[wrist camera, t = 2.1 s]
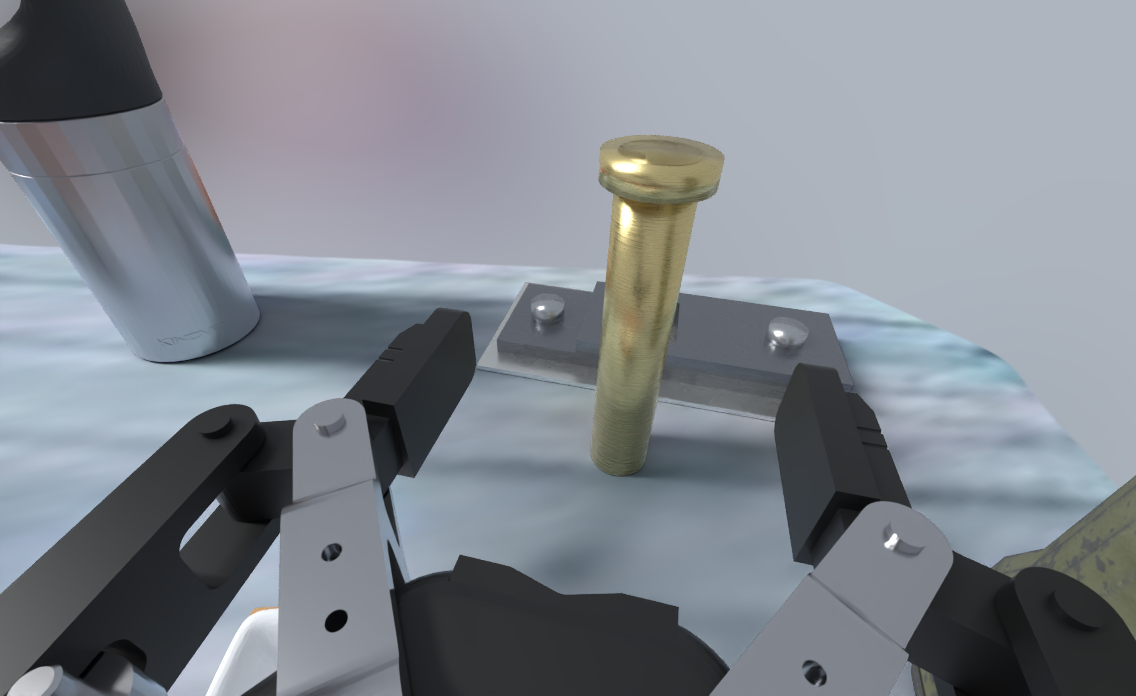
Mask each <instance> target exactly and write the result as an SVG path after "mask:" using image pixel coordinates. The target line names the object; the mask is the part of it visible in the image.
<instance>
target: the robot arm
mask: <svg viewBox="0 0 1136 696" xmlns="http://www.w3.org/2000/svg"><path fill="white" fill-rule="evenodd" d="M0 161H1V162H2V164H3V165H4V167H5V168H6V169H7V170H8V172H9V173H10V175H11V176H12V177H13V179H14V180H15V182H16V183H17V185H18V186H19V188H20V189H21V190H22V192H23V193H24V195H25V196H26V198H27V199H28V201H29V202H30V204H31V205H32V206H33V208H34V209H35V211H36V212H37V214H38V215H39V217H40V218H41V219H42V221H43V222H44V224H45V225H46V227H47V228H48V230H49V231H50V232H51V234H52V235H53V237H54V238H55V240H56V241H57V242H58V244H59V245H60V247H61V248H62V250H63V251H64V253H65V254H66V256H67V257H68V258H69V260H70V261H71V263H72V264H73V266H74V267H75V269H76V270H77V271H78V273H79V274H80V276H81V277H82V279H83V280H84V282H85V283H86V284H87V286H88V287H89V289H90V290H91V292H92V293H93V295H94V296H95V297H96V299H97V300H98V302H99V303H100V305H101V306H102V308H103V309H104V311H105V312H106V314H107V315H108V317H109V318H110V319H111V321H112V322H113V324H114V325H115V327H116V328H117V330H118V331H119V332H120V334H121V335H122V337H123V338H124V340H125V341H126V342H127V344H128V345H129V347H130V348H131V350H132V351H133V353H134V354H136V355H137V356H139V357H140V358H143V359H146V360H149V361H157V362H175V361H182V360H189V359H193V358H197V357H201V356H205V355H208V354H210V353H213V352H216V351H219V350H221V349H223V348H225V347H227V346H230V345H232V344H233V343H235V342H237V341H238V340H240V339H242V338H243V337H244V336H245V335H247V334H248V333H249V332H250V331H251V330H252V329H253V328H254V327H255V326H256V324H257V322H258V320H259V319H260V311H259V308H258V306H257V304H256V302H255V299H254V297H253V295H252V292H251V290H250V288H249V286H248V283H247V281H246V279H245V277H244V274H243V272H242V269H241V267H240V265H239V263H238V261H237V258H236V256H235V254H234V252H233V250H232V248H231V245H230V243H229V241H228V238H227V236H226V234H225V232H224V229H223V227H222V225H221V223H220V221H219V218H218V216H217V214H216V212H215V209H214V207H213V205H212V203H211V200H210V198H209V196H208V194H207V192H206V189H205V187H204V185H203V183H202V180H201V178H200V176H199V174H198V172H197V169H196V167H195V165H194V163H193V160H192V158H191V156H190V154H189V151H188V149H187V147H186V145H185V143H184V141H183V139H182V136H181V134H180V132H179V130H178V128H177V126H176V123H175V121H174V119H173V116H172V114H171V112H170V110H169V108H168V105H167V103H166V101H165V99H164V97H163V96H162V92H161V90H160V87H159V85H158V83H157V81H156V79H155V76H154V74H153V72H152V69H151V67H150V64H149V61H148V58H147V55H146V53H145V50H144V47H143V44H142V42H141V39H140V36H139V34H138V31H137V28H136V26H135V23H134V21H133V19H132V17H131V14H130V12H129V10H128V7H127V5H126V3H125V1H124V0H21V4H20V7H19V9H18V11H17V12H16V13H15V15H14V16H13V17H12V18H11V20H10V21H9V22H7V23H6V24H5V25H4V26H3V27H2V28H0ZM475 366H476V357H475V348H474V340H473V332H472V324H471V318H470V315H469V313H468V312H465V311H459V310H452V309H445V308H438V309H436V310H435V311H434V313H433V314H432V315H431V316H430V317H429V319H428V320H427V321H426V322H425V323H424V325H423V324H415V325H414V326H412V327H410V328H409V329H407V330H405V331H403V332H402V333H400V334H399V335H398V336H397V337H396V338H395V340H394V341H393V342H392V343H391V344H390V345H389V346H388V350H387V349H386V350H385V351H384V352H383V353H382V354H381V356H380V357H379V360H376V361H375V362H374V364H373V365H372V366H371V367H370V368H369V369H368V370H367V372H366V373H365V374H364V375H363V376H362V377H361V378H360V380H359V381H358V382H357V383H356V384H355V385H354V386H353V388H352V389H351V390H350V391H349V392H348V393H347V394H346V396H345V397H344V398H338V399H331V400H327V401H323V402H321V403H318V404H316V405H314V406H312V407H310V408H309V409H308V410H306V411H305V412H304V413H303V414H301V416H300V417H299V418H298V419H297V420H287V421H273V422H260V421H259V419H258V417H257V416H256V414H255V412H254V411H253V409H251V408H250V407H248V406H245V405H240V404H230V405H223V406H219V407H216V408H213V409H210V410H208V411H205V412H203V413H201V414H200V415H198V416H196V417H195V418H193V419H192V420H190V421H189V422H188V423H187V424H186V425H185V426H184V427H182V428H181V429H180V430H179V431H178V432H177V433H176V434H175V435H174V436H173V437H172V438H170V439H169V440H168V441H167V442H166V443H165V444H164V445H163V446H162V447H161V448H160V449H158V450H157V451H156V452H155V453H154V454H153V455H152V456H151V457H150V458H149V459H148V460H146V461H145V462H144V463H143V464H142V465H141V466H140V467H139V468H138V469H137V470H136V471H134V472H133V473H132V474H131V475H130V476H129V477H128V478H127V479H126V480H125V481H124V482H122V483H121V484H120V485H119V486H118V487H117V488H116V489H115V490H114V491H113V492H112V493H110V494H109V495H108V496H107V497H106V498H105V499H104V500H103V501H102V502H101V503H100V504H98V505H97V506H96V507H95V508H94V509H93V510H92V511H91V512H90V513H89V514H88V515H86V516H85V517H84V518H83V519H82V520H81V521H80V522H79V523H78V524H77V525H76V526H74V527H73V528H72V529H71V530H70V531H69V532H68V533H67V534H66V535H65V536H64V537H62V538H61V539H60V540H59V541H58V542H57V543H56V544H55V545H54V546H53V547H52V548H50V549H49V550H48V551H47V552H46V553H45V554H44V555H43V556H42V557H41V558H40V559H38V560H37V561H36V562H35V563H34V564H33V565H32V566H31V567H30V568H29V569H28V570H26V571H25V572H24V573H23V574H22V575H21V576H20V577H19V578H18V579H17V580H16V581H14V582H13V583H12V584H11V585H10V586H9V587H8V588H7V589H6V590H5V591H4V592H2V593H1V594H0V696H168V695H167V692H168V691H169V689H170V688H171V686H172V685H173V684H174V682H175V681H176V679H177V678H178V676H179V675H180V674H181V672H182V671H183V669H184V668H185V667H186V665H187V664H188V662H189V661H190V659H191V658H192V657H193V655H194V654H195V652H196V651H197V650H198V648H199V647H200V645H201V644H202V642H203V641H204V640H205V638H206V637H207V635H208V634H209V632H210V631H211V630H212V628H213V627H214V625H215V624H216V623H217V621H218V620H219V618H220V617H221V615H222V614H223V613H224V611H225V610H226V608H227V607H228V606H229V604H230V603H231V601H232V600H233V598H234V597H235V596H236V594H237V593H238V591H239V590H240V589H241V587H242V586H243V584H244V583H245V581H246V580H247V579H248V577H249V576H250V574H251V573H252V572H253V570H254V569H255V567H256V566H257V564H258V563H259V562H260V560H261V559H262V557H263V556H264V555H265V553H266V552H267V550H268V549H269V547H270V546H271V545H272V543H273V542H274V540H275V539H276V537H277V536H278V535H279V533H280V566H279V609H278V652H277V670H276V671H275V672H274V673H272V674H271V675H269V676H268V677H266V678H265V679H263V680H262V681H261V682H259V683H258V684H256V685H255V686H253V687H252V688H251V689H249V690H248V691H246V692H245V693H243V694H242V695H240V696H888V695H889V693H890V691H891V690H892V688H893V686H894V684H895V682H896V681H897V679H898V677H899V675H900V673H901V672H902V670H903V668H904V666H905V664H906V662H907V661H909V662H911V663H912V664H914V665H916V666H918V667H920V668H922V669H923V670H925V671H927V672H929V673H931V674H932V675H933V679H934V683H935V686H936V690H937V694H938V696H1136V640H1135V638H1134V637H1133V635H1132V633H1131V632H1130V630H1129V628H1128V627H1127V625H1126V624H1125V622H1124V621H1123V619H1122V618H1121V616H1120V615H1119V614H1118V613H1117V612H1116V611H1115V609H1114V608H1113V607H1112V606H1111V605H1110V604H1109V603H1108V602H1107V601H1106V600H1104V599H1103V598H1102V597H1101V596H1100V595H1098V594H1097V593H1096V592H1095V591H1093V590H1092V589H1090V588H1089V587H1088V586H1086V585H1084V584H1083V583H1081V582H1080V581H1078V580H1076V579H1074V578H1072V577H1070V576H1068V575H1066V574H1064V573H1061V572H1059V571H1056V570H1052V569H1049V568H1044V567H1028V568H1025V569H1022V570H1021V571H1020V572H1018V573H1017V574H1016V575H1015V576H1014V577H1012V578H1011V577H1009V576H1007V575H1005V574H1002V573H1000V572H998V571H996V570H993V569H991V568H989V567H987V566H984V565H982V564H980V563H978V562H975V561H973V560H971V559H969V558H966V557H964V556H962V555H960V554H958V553H956V552H955V551H953V550H952V549H951V546H950V544H949V542H948V540H947V539H946V537H945V536H944V534H943V533H942V532H941V530H940V529H939V528H938V527H937V526H936V525H935V524H934V523H932V522H931V521H930V520H929V519H928V518H926V517H925V516H923V515H922V514H920V513H919V512H917V511H915V510H913V509H912V508H911V505H910V503H909V500H908V497H907V495H906V492H905V490H904V487H903V485H902V482H901V480H900V477H899V475H898V472H897V469H896V467H895V464H894V462H893V459H892V457H891V454H890V452H889V450H887V444H886V441H885V439H884V436H883V434H881V429H880V426H879V424H878V421H877V419H876V416H875V413H874V411H873V410H872V409H871V408H870V407H869V406H868V405H867V404H866V403H865V402H864V401H863V399H862V398H861V397H860V396H859V395H858V394H855V393H849V392H845V391H844V388H843V385H842V383H841V380H840V377H839V374H838V371H837V370H836V369H835V368H832V367H826V366H819V365H812V364H806V363H798V364H797V366H796V367H795V369H794V371H793V374H792V376H791V379H790V381H789V384H788V386H787V389H786V391H785V393H784V396H783V398H782V401H781V403H780V406H779V408H778V411H777V414H776V419H775V428H774V434H775V442H776V448H777V455H778V461H779V468H780V474H781V481H782V487H783V494H784V501H785V507H786V514H787V520H788V527H789V533H790V540H791V546H792V553H793V559H794V561H795V562H800V563H804V564H809V565H813V567H814V571H813V572H812V573H809V574H808V575H807V576H806V577H805V578H804V580H803V581H802V582H801V583H800V584H799V586H798V587H797V588H796V589H795V591H794V592H793V593H792V594H791V596H790V597H789V598H788V599H787V600H786V602H785V603H784V604H783V605H782V607H781V608H780V609H779V610H778V611H777V613H776V614H775V615H774V616H773V618H772V619H771V620H770V621H769V623H768V624H767V625H766V626H765V627H764V629H763V630H762V631H761V632H760V634H759V635H758V636H757V637H756V638H755V640H754V641H753V642H752V643H751V645H750V646H749V647H748V648H747V650H746V651H745V652H744V653H743V654H742V656H741V657H740V658H739V659H738V661H737V662H736V663H735V664H734V665H733V667H732V668H731V669H729V667H728V666H727V665H726V663H725V662H724V661H723V660H722V659H721V658H720V657H719V656H718V655H717V654H716V653H715V652H714V650H712V649H711V648H710V647H709V646H708V645H707V644H706V643H704V642H703V641H702V640H701V639H700V638H698V637H697V636H695V635H694V634H692V633H691V632H690V631H688V630H687V629H685V628H683V627H681V626H679V625H678V610H679V607H677V606H672V605H668V604H664V603H660V602H656V601H652V600H647V599H643V598H639V597H635V596H631V595H626V594H622V593H616V594H579V595H564V594H560V593H557V592H555V591H553V590H552V589H550V588H548V587H546V586H544V585H543V584H541V583H539V582H537V581H535V580H534V579H532V578H530V577H528V576H526V575H524V574H523V573H521V572H519V571H517V570H515V569H514V568H512V567H509V566H505V565H501V564H497V563H493V562H489V561H484V560H480V559H476V558H472V557H468V556H464V555H459V558H458V560H457V562H456V565H455V567H454V569H453V571H443V572H437V573H432V574H429V575H425V576H422V577H419V578H416V579H414V580H411V581H410V577H409V574H408V570H407V566H406V562H405V558H404V553H403V548H402V543H401V537H400V532H399V527H398V522H397V516H396V511H395V506H394V500H393V495H392V491H391V488H390V485H391V483H392V482H393V480H394V479H395V477H396V475H397V474H398V475H403V476H407V477H412V478H415V476H416V474H417V473H418V471H419V469H420V468H421V466H422V464H423V462H424V461H425V459H426V457H427V456H428V454H429V452H430V451H431V449H432V447H433V445H434V444H435V442H436V440H437V439H438V437H439V435H440V434H441V432H442V430H443V428H444V427H445V425H446V423H447V422H448V420H449V418H450V417H451V415H452V413H453V412H454V410H455V408H456V406H457V405H458V403H459V401H460V400H461V398H462V396H463V395H464V393H465V391H466V389H467V388H468V386H469V384H470V383H471V381H472V378H473V376H474V372H475ZM215 499H217V500H218V502H219V503H220V505H219V506H218V507H217V508H216V510H215V511H214V512H213V513H212V514H211V515H210V517H209V518H208V519H207V520H206V521H205V522H204V524H203V525H202V526H201V527H200V528H199V529H198V531H197V532H196V533H195V534H194V535H193V536H192V538H191V539H190V540H189V541H188V542H187V543H186V545H185V546H184V547H183V548H182V549H181V550H180V552H179V548H180V544H181V541H182V539H183V537H184V535H185V533H186V532H187V531H188V529H189V528H190V527H191V526H192V525H193V524H194V523H195V521H196V520H197V519H198V518H199V517H200V516H201V515H202V513H203V512H204V511H205V510H206V509H207V508H208V507H209V505H210V504H211V503H212V502H213V501H214V500H215Z"/></svg>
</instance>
